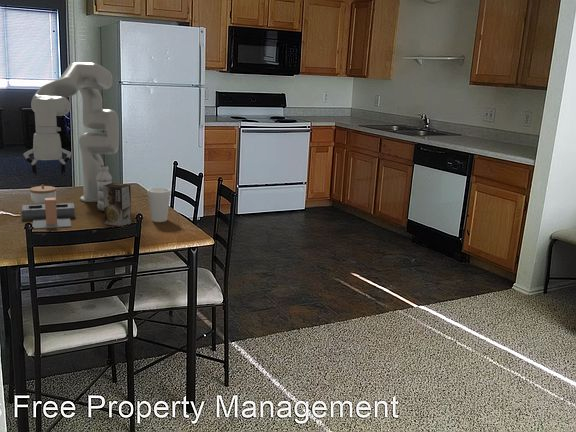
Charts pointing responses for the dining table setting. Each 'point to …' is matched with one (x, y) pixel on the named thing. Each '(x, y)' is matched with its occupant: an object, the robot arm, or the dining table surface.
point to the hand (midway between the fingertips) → (49, 174)
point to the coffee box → (117, 204)
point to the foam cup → (158, 203)
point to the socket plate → (39, 211)
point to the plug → (50, 211)
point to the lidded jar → (42, 193)
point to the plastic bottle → (102, 184)
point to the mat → (42, 224)
